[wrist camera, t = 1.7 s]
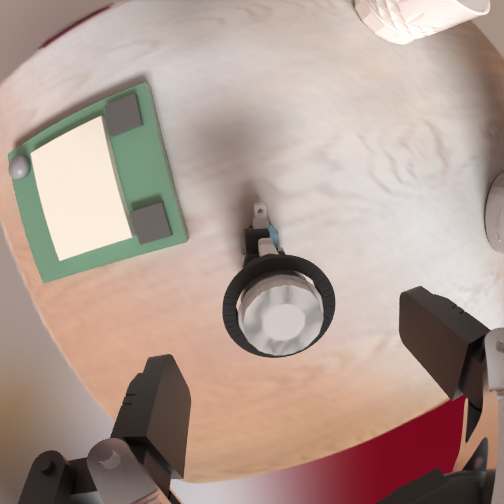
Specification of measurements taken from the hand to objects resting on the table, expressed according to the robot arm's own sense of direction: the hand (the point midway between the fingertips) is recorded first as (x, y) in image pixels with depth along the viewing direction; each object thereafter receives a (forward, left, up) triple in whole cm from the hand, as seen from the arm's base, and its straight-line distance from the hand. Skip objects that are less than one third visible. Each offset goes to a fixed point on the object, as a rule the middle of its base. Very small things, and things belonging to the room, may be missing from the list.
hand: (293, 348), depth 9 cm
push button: (0, 0, -13) cm, 13 cm away
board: (+12, -8, -13) cm, 19 cm away
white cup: (-16, -18, -13) cm, 28 cm away
